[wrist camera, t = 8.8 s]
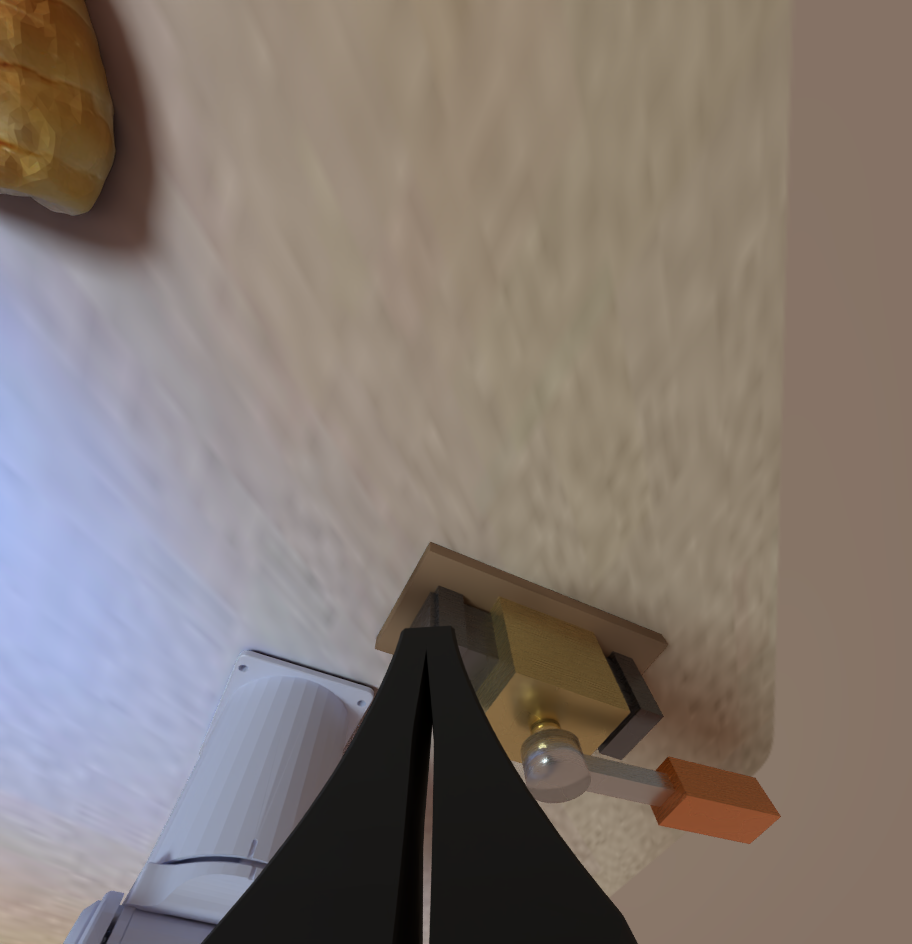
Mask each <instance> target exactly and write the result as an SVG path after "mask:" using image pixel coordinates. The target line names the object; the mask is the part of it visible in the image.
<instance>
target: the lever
mask: <svg viewBox="0 0 912 944" xmlns="http://www.w3.org/2000/svg"><path fill="white" fill-rule="evenodd" d="M520 753H521V758H522V764H523V769H524V774H525V780H526V785H527V788H528V790H529V791H530V793H531V794H532V796H533V797H534V798H535V799H536V800H538V801H541V802H546V803H561V802H566V801H570V800H572V799H575V798H577V797H578V796H580V795H582V794H583V793H584V792H585V791H589V792H593V793H598V794H603V795H607V796H612V797H616V798H621V799H626V800H630V801H635V802H639V803H644V804H649V805H650V806H651V808H652V810H653V813H654V815H655V817H656V820H657V822H658V825H660V826H665V827H670V828H675V829H679V830H684V831H689V832H694V833H699V834H704V835H708V836H713V837H718V838H723V839H728V840H733V841H737V842H742V843H747V844H750V843H751V842H752V841H754V840H755V839H756V838H757V837H758V836H759V835H761V834H762V833H763V832H764V831H765V830H766V829H767V828H769V826H771V825H772V824H773V823H774V822H775V821H776V820H778V819H779V818H780V817H781V816H780V814H779V813H778V811H777V810H776V808H775V807H774V805H773V804H772V802H771V801H770V799H769V798H768V796H767V795H766V793H765V792H764V790H763V789H762V788H761V786H760V784H759V783H758V781H757V780H756V778H753V777H750V776H745V775H741V774H737V773H733V772H729V771H725V770H721V769H717V768H713V767H709V766H705V765H701V764H696V763H692V762H688V761H684V760H680V759H676V758H672V757H667V758H666V759H665V761H664V762H663V763H662V764H661V765H660V766H659V767H658V768H657V770H656V771H653V770H649V769H645V768H641V767H636V766H632V765H628V764H624V763H619V762H615V761H611V760H607V759H602V758H598V757H594V756H590V755H585V754H583V751H582V748H581V745H580V742H579V739H578V738H577V736H576V735H574V734H573V733H572V732H570V731H567V730H564V729H546V730H542V731H539V732H536V733H534V734H533V735H531V736H530V737H528V738H527V739H526V740H525V741H524V742H523V744H522V746H521V750H520Z"/></svg>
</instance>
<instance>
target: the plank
mask: <svg viewBox="0 0 912 944" xmlns="http://www.w3.org/2000/svg"><path fill="white" fill-rule="evenodd" d="M438 585H439V586H442V587H444V588H447V589H450V590H452V591H455V592H458V593H460V594H463V602H464V604H466V605H468V606H471V607H474V608H476V609H479V610H482V611H484V612H487V613H489V611H490V610H491V608H492V607H493V605H494V604H495V602H496V601H497V599H498V598H499V596H500V597H503V598H505V599H508V600H511V601H513V602H516V603H518V604H521V605H524V606H526V607H529V608H531V609H534V610H537V611H539V612H542V613H544V614H547V615H550V616H552V617H555V618H557V619H560V620H563V621H565V622H568V623H570V624H573V625H576V626H578V627H581V628H583V629H586V630H589V631H591V632H594V634H595V636H596V639H597V641H598V643H599V645H600V647H601V649H602V651H603V654H604V656H605V657H608V656H609V655H610V654H611V653H612V651H614V652H616V653H619V654H622V655H624V656H627V657H630V658H632V659H633V661H634V662H635V664H636V666H637V668H638V670H639V672H640V674H641V675H642V674H643V673H644V672H645V671H646V669H647V668H648V667H649V666H650V665H651V664H652V663H653V662H654V661H655V659H656V658H657V657H658V656H659V655H660V654H661V653H662V652H663V651H664V649H665V648H666V647H667V646H668V644H667V642H666V641H665V639H664V638H663V636H662V635H661V634H659V633H656V632H654V631H651V630H649V629H646V628H644V627H641V626H639V625H636V624H634V623H631V622H629V621H626V620H624V619H621V618H619V617H616V616H614V615H611V614H609V613H606V612H604V611H601V610H599V609H596V608H594V607H591V606H589V605H586V604H584V603H581V602H579V601H576V600H574V599H571V598H569V597H566V596H564V595H561V594H559V593H556V592H554V591H551V590H549V589H546V588H544V587H541V586H539V585H536V584H534V583H531V582H529V581H526V580H524V579H521V578H519V577H516V576H514V575H511V574H509V573H506V572H504V571H501V570H499V569H496V568H494V567H491V566H489V565H486V564H484V563H481V562H479V561H476V560H474V559H471V558H469V557H466V556H464V555H461V554H459V553H456V552H454V551H451V550H449V549H446V548H444V547H441V546H439V545H436V544H434V543H432V542H430V543H429V545H428V546H427V548H426V550H425V552H424V554H423V555H422V557H421V559H420V561H419V563H418V564H417V566H416V568H415V570H414V572H413V573H412V575H411V577H410V579H409V581H408V582H407V584H406V586H405V588H404V590H403V591H402V593H401V595H400V597H399V598H398V600H397V602H396V604H395V606H394V607H393V609H392V611H391V613H390V615H389V616H388V618H387V620H386V622H385V624H384V625H383V627H382V629H381V631H380V633H379V634H378V636H377V639H376V645H375V649H377V650H380V651H383V652H386V653H389V654H392V655H394V652H395V649H396V646H397V643H398V640H399V637H400V633H401V631H402V630H403V629H405V628H410V626H411V624H412V622H413V621H414V619H415V617H416V616H417V614H418V612H419V611H420V609H421V607H422V605H423V604H424V602H425V600H426V599H427V597H428V595H429V593H430V592H433V593H434V592H435V590H436V589H437V587H438Z"/></svg>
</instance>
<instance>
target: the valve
mask: <svg viewBox="0 0 912 944" xmlns="http://www.w3.org/2000/svg"><path fill="white" fill-rule="evenodd" d="M435 626H452V627H453V628H454V629H455V634H456V639H457V643H458V647H459V651H460V654H461V657H462V660H463V663H464V666H465V669H466V671H467V674H468V676H469V679H470V681H471V683H472V686H473V688H474V690H475V693H476V695H477V697H478V700H479V702H480V704H481V706H482V708H483V710H484V712H485V714H486V716H487V718H488V720H489V722H490V724H491V726H492V728H493V730H494V732H495V734H496V736H497V738H498V739H499V741H500V743H501V745H502V747H503V748H504V750H505V752H506V754H507V755H508V757H509V759H510V760H512V761H516V762H519V763H522V758H521V753H520V750H521V746H522V744H523V742H524V741H525V740H526V739H527V738H528V737H530V736H531V735H533V734H534V733H536V732H539V731H542V730H546V729H564V730H567V731H570V732H572V733H573V734H574V735H576V736H577V738H578V739H579V742H580V745H581V748H582V751H583V754H585V755H590V756H591V754H592V753H593V752H594V751H595V750H596V749H597V748H598V750H599V753H601V754H604V755H607V756H610V757H614V758H617V759H620V760H622V759H623V758H624V757H625V756H626V755H627V754H628V753H629V752H630V751H631V750H632V749H633V748H634V747H635V746H636V744H637V743H638V742H639V741H640V740H641V739H642V738H643V737H644V736H645V735H646V734H647V733H648V732H649V731H650V730H651V729H652V728H653V727H654V726H655V725H656V724H657V723H658V722H659V721H660V720H661V719H662V718H663V717H664V716H663V714H662V713H661V711H660V709H659V707H658V705H657V703H656V701H655V700H654V698H653V696H652V694H651V692H650V690H649V688H648V687H647V685H646V683H645V681H644V679H643V677H642V675H641V674H640V672H639V670H638V668H637V666H636V664H635V662H634V661H633V659H632V658H630V657H627V656H624V655H622V654H619V653H616V652H614V651H612V653H611V654H610V655H609V656H608V657H605V656H604V654H603V651H602V649H601V647H600V645H599V643H598V641H597V639H596V636H595V634H594V632H591V631H589V630H586V629H583V628H581V627H578V626H576V625H573V624H570V623H568V622H565V621H563V620H560V619H557V618H555V617H552V616H550V615H547V614H544V613H542V612H539V611H537V610H534V609H531V608H529V607H526V606H524V605H521V604H518V603H516V602H513V601H511V600H508V599H505V598H503V597H500V596H499V598H498V599H497V601H496V602H495V604H494V605H493V607H492V608H491V610H490V611H489V613H487V612H484V611H482V610H479V609H476V608H474V607H471V606H468V605H466V604H464V602H463V594H460V593H458V592H455V591H452V590H450V589H447V588H444V587H442V586H439V585H438V587H437V589H436V590H435V592H434V593H433V592H430V593H429V595H428V597H427V599H426V600H425V602H424V604H423V605H422V607H421V609H420V611H419V612H418V614H417V616H416V617H415V619H414V621H413V622H412V624H411V626H410V628H418V627H435Z"/></svg>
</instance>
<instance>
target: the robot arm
mask: <svg viewBox="0 0 912 944" xmlns="http://www.w3.org/2000/svg"><path fill="white" fill-rule="evenodd" d="M244 665H245V666H244ZM373 697H374V691H373V690H372V689H371V688H369V687H367V686H363V685H360V684H357V683H354V682H350V681H347V680H344V679H341V678H337V677H334V676H331V675H328V674H324V673H321V672H318V671H315V670H311V669H308V668H305V667H301V666H298V665H295V664H292V663H288V662H285V661H282V660H279V659H275V658H272V657H269V656H266V655H262V654H259V653H256V652H253V651H243V652H241V653H240V655H239V656H238V658H237V661H236V663H235V665H234V668H233V670H232V673H231V675H230V678H229V680H228V683H227V685H226V687H225V690H224V692H223V695H222V697H221V700H220V702H219V705H218V707H217V709H216V712H215V714H214V717H213V719H212V722H211V724H210V727H209V729H208V732H207V734H206V736H205V739H204V741H203V744H202V746H201V749H200V751H199V756H200V757H199V759H198V761H197V763H196V765H195V767H194V769H193V771H192V773H191V775H190V777H189V779H188V781H187V783H186V785H185V787H184V789H183V791H182V793H181V795H180V797H179V799H178V801H177V803H176V805H175V807H174V809H173V811H172V813H171V815H170V817H169V819H168V821H167V823H166V825H165V827H164V829H163V831H162V833H161V835H160V836H159V838H158V840H157V842H156V844H155V846H154V848H153V850H152V852H151V854H150V856H149V858H148V860H147V862H146V864H145V866H144V867H143V869H142V871H141V872H140V874H139V876H138V878H137V879H136V881H135V883H134V884H133V886H132V888H131V890H130V891H129V893H128V895H127V897H126V898H125V900H124V902H123V903H122V905H119V904H120V902H121V900H122V898H123V895H124V893H121V892H116V891H109V892H108V893H106V894H105V896H104V897H103V899H102V900H101V901H100V900H98V901H96V902H95V903H93V904H92V905H90V906H89V907H87V908H86V909H84V910H83V911H82V913H81V914H80V916H79V917H78V919H77V921H76V922H75V924H74V926H73V927H72V929H71V931H70V933H69V934H68V936H67V938H66V940H65V941H64V943H63V944H423V841H424V821H425V809H426V796H427V784H428V772H429V759H430V747H431V734H432V725H433V736H434V779H433V831H432V872H431V906H430V938H429V944H638V943H637V941H636V939H635V937H634V935H633V934H632V932H631V930H630V928H629V926H628V924H627V922H626V920H625V918H624V916H623V915H622V913H621V912H620V911H619V910H618V908H617V907H616V906H615V905H614V904H613V902H612V901H611V900H610V899H609V897H608V896H607V895H606V894H605V893H604V891H603V890H602V889H601V888H600V887H599V885H598V884H597V883H596V881H595V880H594V879H593V878H592V876H591V875H590V874H589V873H588V871H587V870H586V869H585V868H584V866H583V865H582V864H581V863H580V861H579V860H578V859H577V857H576V856H575V855H574V853H573V852H572V851H571V849H570V848H569V847H568V845H567V844H566V843H565V841H564V840H563V839H562V837H561V836H560V835H559V833H558V832H557V830H556V829H555V827H554V826H553V824H552V823H551V822H550V820H549V819H548V817H547V816H546V814H545V813H544V811H543V810H542V809H541V807H540V806H539V804H538V803H537V801H536V800H535V798H534V797H533V796H532V794H531V793H530V791H529V790H528V788H527V786H526V785H525V783H524V782H523V780H522V778H521V777H520V775H519V774H518V772H517V770H516V769H515V767H514V766H513V764H512V762H511V760H510V759H509V757H508V755H507V754H506V752H505V750H504V748H503V747H502V745H501V743H500V741H499V739H498V738H497V736H496V734H495V732H494V730H493V728H492V726H491V724H490V722H489V720H488V718H487V716H486V714H485V712H484V710H483V708H482V706H481V704H480V702H479V700H478V697H477V695H476V693H475V690H474V688H473V686H472V683H471V681H470V679H469V676H468V674H467V671H466V669H465V666H464V663H463V660H462V657H461V654H460V651H459V647H458V643H457V639H456V634H455V629H454V628H453V627H452V626H435V627H418V628H405V629H403V630H402V631H401V633H400V637H399V640H398V643H397V646H396V649H395V652H394V655H393V658H392V660H391V663H390V665H389V667H388V670H387V672H386V675H385V677H384V679H383V681H382V683H381V685H380V688H379V690H378V692H377V694H376V696H375V698H374V700H373ZM362 700H363V701H362ZM372 700H373V702H372ZM371 702H372V704H371ZM370 704H371V706H370V708H369V710H368V712H367V714H366V716H365V718H364V720H363V722H362V723H361V725H360V727H359V729H358V731H357V733H356V735H355V736H354V738H353V740H352V742H351V743H350V745H349V747H348V749H347V750H346V752H345V754H344V755H343V750H344V747H345V746H346V744H347V742H348V741H349V739H350V737H351V736H352V734H353V732H354V731H355V729H356V727H357V725H358V724H359V722H360V720H361V719H362V717H363V715H364V714H365V712H366V710H367V709H368V707H369V705H370ZM342 755H343V757H342Z"/></svg>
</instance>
